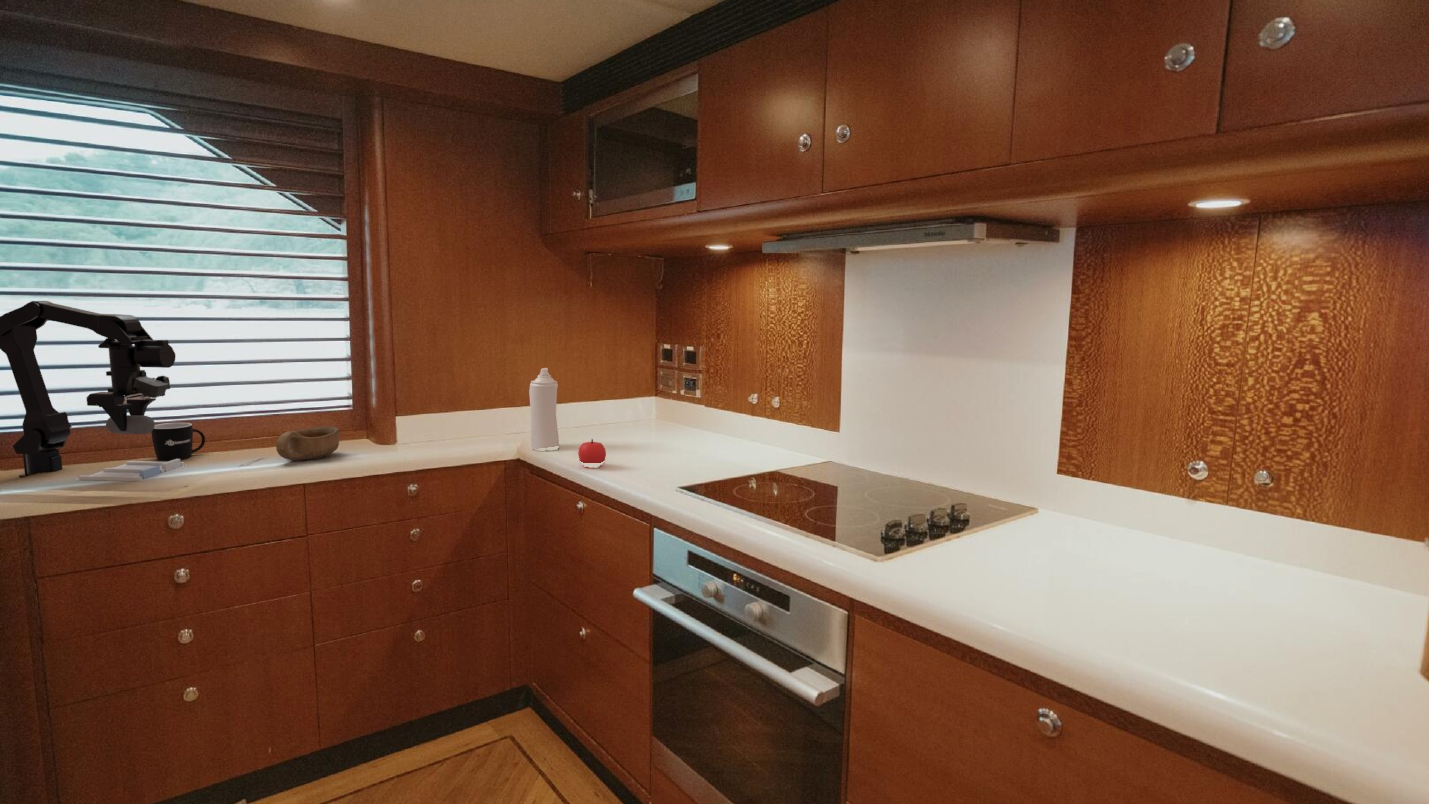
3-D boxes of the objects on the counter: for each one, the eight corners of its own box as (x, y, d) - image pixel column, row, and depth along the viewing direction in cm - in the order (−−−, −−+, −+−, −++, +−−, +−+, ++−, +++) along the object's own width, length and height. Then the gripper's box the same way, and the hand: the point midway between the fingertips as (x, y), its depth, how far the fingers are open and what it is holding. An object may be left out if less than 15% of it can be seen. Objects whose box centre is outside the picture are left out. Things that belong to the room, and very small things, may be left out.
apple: (608, 463, 212) (608, 436, 211) (603, 470, 204) (603, 442, 203) (580, 463, 212) (581, 435, 211) (575, 469, 204) (575, 441, 203)
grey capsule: (101, 435, 179) (100, 416, 179) (115, 431, 184) (114, 413, 183) (147, 435, 180) (145, 417, 179) (160, 432, 185) (158, 414, 184)
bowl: (319, 462, 198) (307, 426, 196) (271, 474, 199) (259, 439, 197) (354, 447, 215) (343, 415, 214) (309, 459, 216) (298, 426, 215)
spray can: (518, 447, 229) (518, 368, 226) (542, 442, 239) (542, 366, 235) (546, 452, 224) (546, 371, 220) (569, 446, 233) (569, 368, 229)
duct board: (75, 484, 175) (73, 471, 174) (125, 468, 190) (124, 456, 190) (144, 485, 175) (143, 472, 175) (189, 469, 191) (188, 457, 191)
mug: (161, 467, 192) (158, 429, 191) (148, 462, 197) (145, 425, 196) (213, 460, 202) (210, 424, 200) (199, 455, 207) (196, 419, 206)
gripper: (132, 371, 171) (137, 437, 173) (184, 363, 189) (188, 423, 191) (81, 370, 170) (88, 436, 172) (139, 362, 188) (144, 422, 191)
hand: (130, 429), depth 182 cm, fingers closed on grey capsule, 5 cm apart
